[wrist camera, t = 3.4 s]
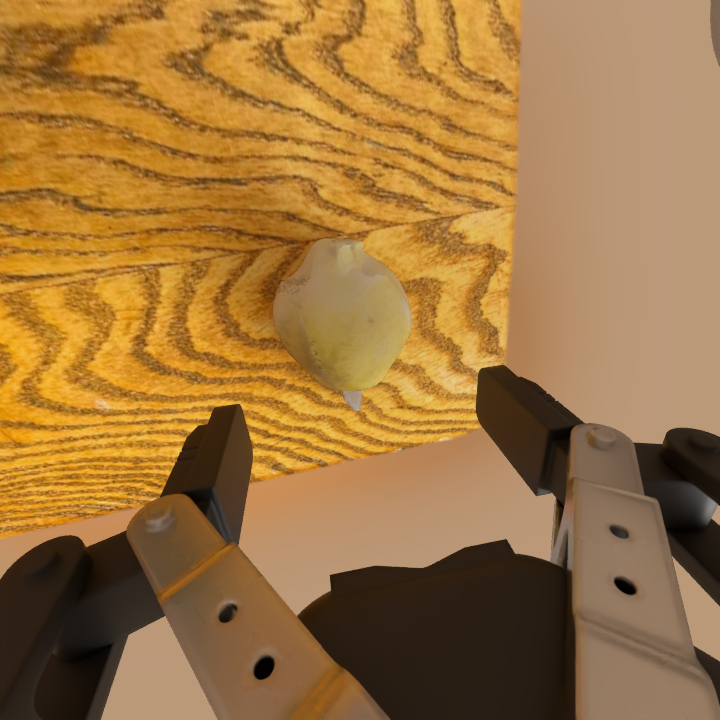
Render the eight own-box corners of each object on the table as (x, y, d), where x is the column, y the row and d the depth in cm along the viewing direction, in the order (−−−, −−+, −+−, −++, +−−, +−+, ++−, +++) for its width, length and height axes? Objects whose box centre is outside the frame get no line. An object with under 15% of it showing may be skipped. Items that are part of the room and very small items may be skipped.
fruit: (304, 410, 21) (237, 248, 15) (390, 368, 23) (357, 206, 17) (345, 479, 17) (270, 287, 11) (448, 420, 18) (430, 225, 12)
